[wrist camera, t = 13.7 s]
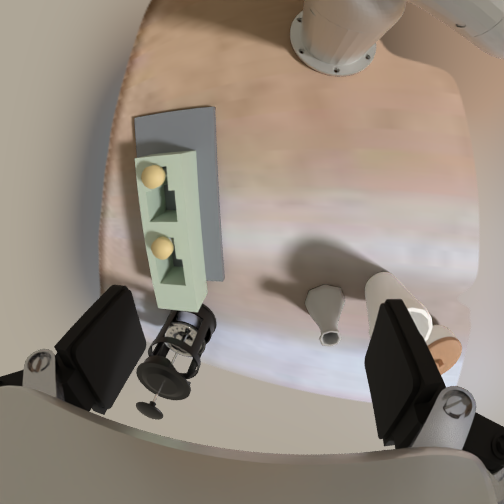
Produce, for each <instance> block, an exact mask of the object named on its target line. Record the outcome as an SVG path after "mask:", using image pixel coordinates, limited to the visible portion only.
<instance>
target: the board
mask: <svg viewBox="0 0 504 504" xmlns="http://www.w3.org/2000/svg"><path fill="white" fill-rule="evenodd" d="M135 136H136V150H137V158H139V157H143V156H148V155H152V154H159V153H170V152H182V151H195V150H196V158H197V176H198V192H199V206H200V219H201V231H202V242H203V253H204V263H205V273H206V281H224V278H225V276H224V263H223V250H222V235H221V220H220V204H219V186H218V167H217V145H216V118H215V107H205V108H195V109H187V110H179V111H172V112H165V113H159V114H153V115H148V116H142V117H137V118H135ZM165 178H167V167H166V166H165V167H161V166H159V165H152V166H148V167H146V168H145V169H144V170H143V172H142V175H141V179H142V183H143V184H144V186H145V187H147V188H149V189H155V188H157V187H159V186H161V185H162V184H163V183H164V181H165ZM164 191H165V202H166V210H176V201H175V190H172V191H168V184H166V185H164ZM151 251H152V253H153V255H154V256H155V257H156V258H158V259H161V260H164V259H167V258H168V257H169V256H170V255H171V254H172V258H173V264H174V266H177V267H183V262H182V259H176V252H175V245H174V238H167V237H163V236H161V237H158V238H157V239H156V240H155V241H154V242H153V243H152V245H151Z"/></svg>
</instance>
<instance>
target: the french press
mask: <svg viewBox="0 0 504 504" xmlns="http://www.w3.org/2000/svg"><path fill="white" fill-rule="evenodd" d="M177 312H180V311H179V310H171V313H170V314H169V316H168V318H167V321H166V322H165V324H164V326H163V327H162V329H161V331H160V332H159V334H158V336H157V337H156V339H155V340H154V341H153V342H152V344H151V346H150V348H149V350H148V355H149V357H148V358H147V359H146V360H145V361H144V363H141V364H140V365H139V366H138V368H137V377H138V379H139V380H140V382H141V383H142V384H143V385H144V386H145V387H146V388H147V389H148V390H149V391H151V392H153V393H154V394H156V395H155V397H154V399H153V401H150V403H149V404H148V403H145V402H138V403H136V407H137V409H138V410H139V411H140V412H141V413H142V414H144V415H145V416H147V417H149V418H152V419H162V418H163V414H162V412H161V411H160V410H159V409H157V408H156V407H155V405H156V403H155V401H156V398H157V396H160V397H163V398H166V399H171V400H182V399H185V398H187V397H188V396H189V394H190V391H191V388H190V382H188V381H187V380H186V379H190V378H192V377H194V376H196V374H197V373H198V370H199V367H200V364H201V361H200V357H201V355H202V353H203V352H204V350H205V346H206V344H207V343H208V342H209V341H210V338H211V336H212V334H213V332H214V331H215V329H216V318H215V316H214V314H213V312H212V311H211V310H210V309H209V308H208V307H207V306H205V305H204V304H202V305H201V307H200V309H199V311H198V312H190V313H193V314H195V315H197V316H199V317H200V318H201V319H203V321H202V323H201V325H200V327H199V329H197V328H196V327H195V326H193V325H191V324H189V323H186V322H183V321H177ZM185 312H189V311H185ZM157 343H158V344H157ZM154 344H157V346H156V347H155V349H154V351H153V352H152V346H153V345H154ZM169 349H171V350H172V351H174V352H175V356H174V358H173V360H172V362H170V361H169V360H168V359H167V358H165V357H166V355H167V353H168V351H169ZM177 354H179V355H182V356H186V357H193V360H192V362H191V365H190V367H189V369H188V372H187V373H179V372H177V371H176V369H175V368H174V366H173V363H174V360H175V358H176V356H177ZM196 367H197V370H195V369H196Z"/></svg>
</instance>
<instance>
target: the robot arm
mask: <svg viewBox="0 0 504 504" xmlns="http://www.w3.org/2000/svg"><path fill="white" fill-rule="evenodd" d="M406 1H407V2H409V3H411V4H414V5H416V6H418V7H419V8H422V9H423V10H424V11H426V12H428V13H429V14H431V15H432V16H434V17H436V18H437V19H439V20H440V21H442V22H443V23H445V24H446V25H448V26H449V27H450V28H452V29H453V30H455V31H456V32H457V33H459V34H460V35H462V36H463V37H465V38H466V39H467V40H468V41H470V42H471V43H472V44H474V45H475V46H477V47H478V48H479V49H481V50H482V51H484V52H485V53H487V54H489V55H491V56H494V57H496V58H501V59H504V0H304V6H303V11H301V12H300V13H299V14H298V15H297V16H296V17H295V19H294V20H293V22H292V25H291V28H290V41H291V44H292V47H293V49H294V51H295V53H296V54H297V56H298V57H299V58H300V60H302V61H303V62H304V63H305V64H306V65H307V66H309V67H310V68H312V69H313V70H315V71H318V72H320V73H322V74H326V75H329V76H337V77H340V76H350V75H354V74H356V73H359V72H361V71H362V70H363V69H365V68H366V67H367V66H368V65H369V64H370V63H371V62H372V60H373V58H374V55H375V53H376V42H377V41H378V40H379V39H380V38H381V37H382V36H383V35H384V34H385V33H386V32H387V31H388V30H389V29H390V28H391V27H392V26H393V25H394V24H395V23H396V22H397V21H398V20H399V19H400V17H401V16H402V14H403V12H404V9H405V6H406ZM298 21H301V22H298ZM301 51H302V52H303V54H301V53H300V52H301ZM365 57H367V58H368V60H367V59H366V58H365ZM334 70H337V73H335V72H334ZM54 347H55V349H56V351H57V354H56V355H55V354H54V353H53V352H52V351H51V350H49V349H40V350H38V351H35V352H34V353H32V354H31V355H30V356H29V357H28V358H27V360H26V361H25V365H24V370H21V371H18V372H15V373H12V374H8V375H5V376H2V377H0V504H504V427H503V426H501V425H499V424H497V423H495V422H493V421H491V420H489V419H487V418H485V417H483V416H482V415H480V414H478V413H476V412H475V411H476V402H475V399H474V397H473V396H472V394H471V393H470V392H469V391H468V390H466V389H464V388H462V387H458V386H450V387H447V388H446V386H445V384H444V381H443V379H442V377H441V374H440V372H439V370H438V368H437V365H436V363H435V361H434V359H433V357H432V354H431V352H430V350H429V348H428V346H427V344H426V342H425V340H424V338H423V336H422V335H421V334H420V333H419V331H418V329H417V327H416V325H415V323H414V321H413V319H412V317H411V315H410V313H409V311H408V309H407V307H406V306H405V304H404V302H403V300H402V299H387V300H386V301H385V303H381V305H380V307H379V311H378V315H377V319H376V322H375V326H374V330H373V333H372V337H371V340H370V343H369V346H368V350H367V353H366V356H365V369H366V374H367V379H368V383H369V388H370V393H371V398H372V403H373V409H374V414H375V420H376V426H377V432H378V437H379V439H383V442H384V446H390V445H395V449H393V450H382V451H374V452H364V453H349V454H323V455H294V454H273V453H259V452H249V451H239V450H232V449H225V448H218V447H212V446H206V445H201V444H196V443H191V442H186V441H181V440H176V439H173V438H169V437H165V436H161V435H157V434H153V433H149V432H146V431H143V430H139V429H136V428H133V427H130V426H127V425H123V424H120V423H118V422H115V421H112V420H109V419H106V418H104V417H101V416H99V415H96V414H93V413H91V412H89V411H90V410H91V408H92V409H93V411H95V412H98V413H101V414H103V415H104V414H105V412H106V410H107V409H110V408H111V407H112V405H113V403H114V402H115V400H116V398H117V396H118V395H119V393H120V391H121V389H122V388H123V386H124V384H125V383H126V381H127V379H128V378H129V376H130V374H131V372H132V371H133V369H134V367H135V366H136V364H137V362H138V361H139V359H140V357H141V356H142V354H143V352H144V350H145V348H146V340H145V337H144V334H143V331H142V327H141V324H140V321H139V317H138V314H137V311H136V307H135V303H134V300H133V296H132V293H131V291H130V290H128V288H127V287H126V286H120V285H112V286H111V287H110V288H109V289H108V290H107V291H106V292H105V293H104V294H103V295H102V296H101V297H100V298H99V299H98V300H97V301H96V302H95V303H94V304H93V305H92V306H91V307H90V308H89V309H88V310H87V311H86V312H85V313H84V314H83V316H82V317H81V318H80V319H79V320H78V321H77V322H76V323H75V324H74V325H73V326H72V327H71V328H70V330H69V331H68V332H67V333H66V334H65V335H64V336H63V337H62V339H61V340H60V341H59V342H58V343H57V344H56V345H55V346H54Z"/></svg>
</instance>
